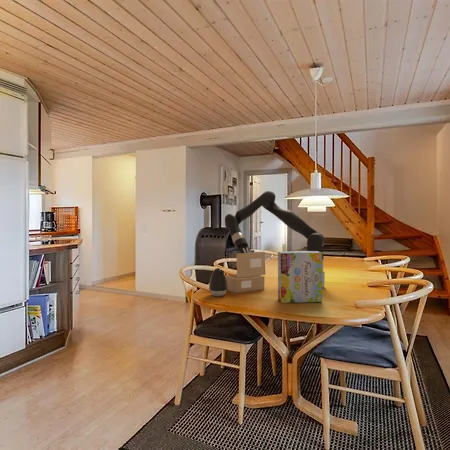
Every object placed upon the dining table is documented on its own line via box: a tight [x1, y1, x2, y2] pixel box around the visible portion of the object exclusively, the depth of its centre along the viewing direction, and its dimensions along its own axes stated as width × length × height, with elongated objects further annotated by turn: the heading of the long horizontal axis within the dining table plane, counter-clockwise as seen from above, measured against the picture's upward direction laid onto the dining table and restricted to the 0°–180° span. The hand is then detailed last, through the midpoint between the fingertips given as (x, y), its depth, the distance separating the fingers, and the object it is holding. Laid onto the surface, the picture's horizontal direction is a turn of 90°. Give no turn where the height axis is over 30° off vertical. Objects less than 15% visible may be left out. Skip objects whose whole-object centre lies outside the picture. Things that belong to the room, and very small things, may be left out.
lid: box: [236, 251, 266, 278], centre depth 192 cm, size 14×20×1 cm
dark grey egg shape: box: [208, 267, 228, 297], centre depth 183 cm, size 10×10×15 cm
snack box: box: [277, 250, 323, 304], centre depth 172 cm, size 22×9×26 cm, turn 92°
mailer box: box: [225, 273, 265, 294], centre depth 199 cm, size 14×20×8 cm
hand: (250, 264), depth 193 cm, fingers closed
